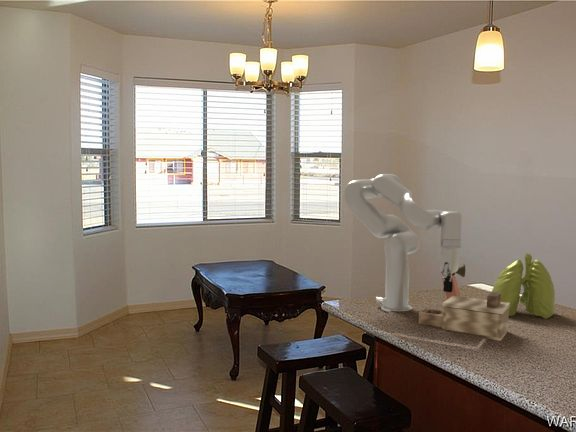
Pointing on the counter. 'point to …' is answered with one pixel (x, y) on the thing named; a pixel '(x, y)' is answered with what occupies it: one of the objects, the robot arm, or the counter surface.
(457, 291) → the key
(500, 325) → the wooden box
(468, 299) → the lid
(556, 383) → the counter surface
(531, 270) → the lungs
